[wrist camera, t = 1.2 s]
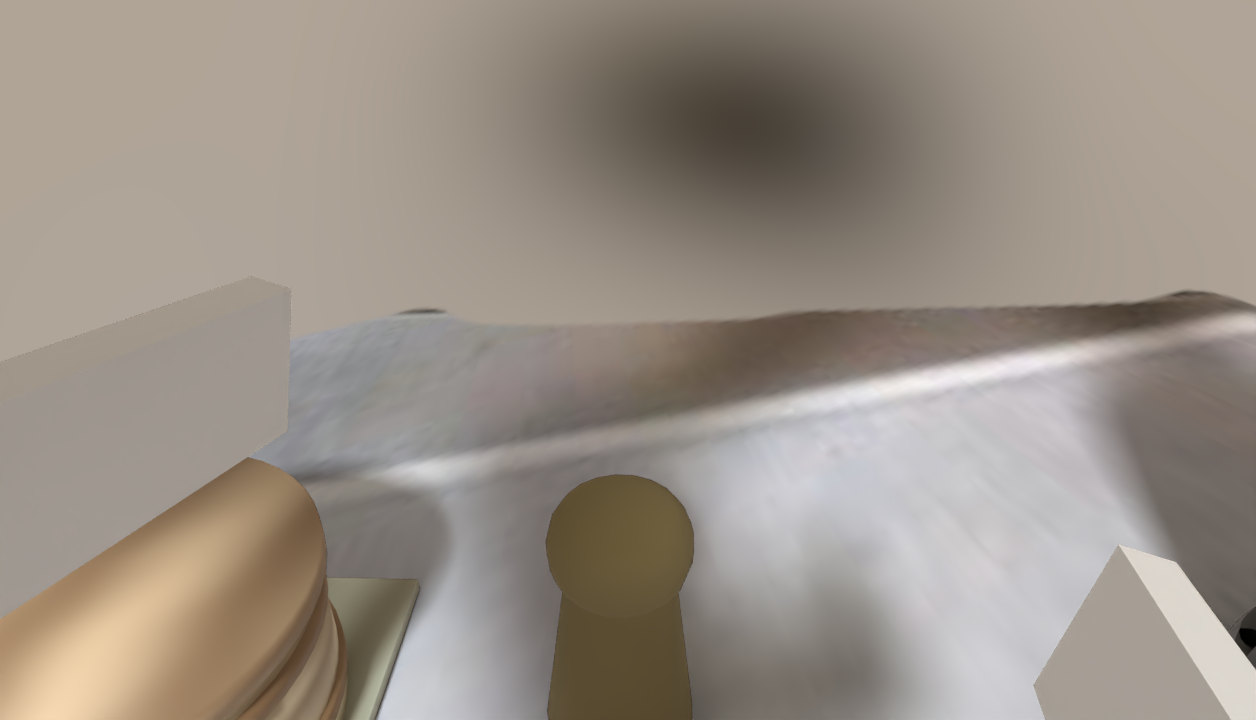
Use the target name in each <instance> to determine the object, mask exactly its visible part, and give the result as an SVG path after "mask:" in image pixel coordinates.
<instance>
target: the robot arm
mask: <svg viewBox="0 0 1256 720" xmlns="http://www.w3.org/2000/svg"><path fill="white" fill-rule="evenodd" d="M290 322H291V289H290V288H287V287H284V286H281V285H278V284H274V283H271V282H268V281H265V280H261V279H258V278H255V277H252V276H251V277H248V278H245V279H242V280H239V281H236V282H233V283H230V284H227V285H224V286H221V287H218V288H216V289H213V290H210V291H207V292H204V293H201V294H198V295H195V296H192V297H189V298H187V299H183V300H181V301H177V302H174V303H172V304H169V305H166V306H163V307H160V308H157V309H154V310H151V311H148V312H146V313H142V314H139V315H136V316H134V317H131V318H128V319H125V320H122V321H119V322H116V323H113V324H110V325H107V326H104V327H101V328H99V329H96V330H93V331H90V332H87V333H84V334H81V335H78V336H75V337H72V338H69V339H66V340H63V341H61V342H57V343H55V344H52V345H49V346H46V347H43V348H40V349H37V350H34V351H32V352H28V353H25V354H23V355H19V356H17V357H14V358H11V359H8V360H5V361H2V362H0V619H1V618H3V617H4V616H6V615H7V614H9V613H10V612H12V611H14V610H15V609H17V608H18V607H20V606H21V605H23V604H24V603H26V602H27V601H29V600H30V599H32V598H33V597H35V596H36V595H38V594H39V593H41V592H43V591H44V590H46V589H47V588H49V587H50V586H52V585H53V584H55V583H56V582H58V581H59V580H61V579H62V578H64V577H65V576H67V575H68V574H70V573H72V572H73V571H75V570H76V569H78V568H79V567H81V566H82V565H84V564H85V563H87V562H88V561H90V560H91V559H93V558H94V557H96V556H97V555H99V554H101V553H102V552H104V551H105V550H107V549H108V548H110V547H111V546H113V545H114V544H116V543H117V542H119V541H120V540H122V539H123V538H125V537H126V536H128V535H130V534H131V533H133V532H134V531H136V530H137V529H139V528H140V527H142V526H143V525H145V524H146V523H148V522H149V521H151V520H152V519H154V518H155V517H157V516H159V515H160V514H162V513H163V512H165V511H166V510H168V509H169V508H171V507H172V506H174V505H175V504H177V503H178V502H180V501H181V500H183V499H185V498H186V497H188V496H189V495H191V494H192V493H194V492H195V491H197V490H198V489H200V488H201V487H203V486H204V485H206V484H207V483H209V482H210V481H212V480H214V479H215V478H217V477H218V476H220V475H221V474H223V473H224V472H226V471H227V470H229V469H230V468H232V467H233V466H235V465H236V464H238V463H239V462H241V461H243V460H244V459H246V458H247V457H249V456H250V455H252V454H253V453H255V452H256V451H258V450H259V449H261V448H262V447H264V446H265V445H267V444H268V443H270V442H272V441H273V440H275V439H276V438H278V437H279V436H281V435H282V434H284V433H285V432H287V431H288V395H289V360H290V324H291V323H290ZM1033 686H1034V688H1035V691H1036V694H1037V697H1038V700H1039V703H1040V705H1041V708H1042V711H1043V714H1044V717H1045V720H1256V607H1255V608H1253V609H1252V610H1250V611H1249V612H1247V613H1246V614H1245V615H1244V616H1242V617H1241V618H1240V619H1239V620H1238V621H1237V622H1236V623H1235V624H1234V625H1233V626H1232V628H1231V629H1230V630H1229V632H1227V630H1226V629H1225V628H1224V626H1223V625H1222V624H1221V622H1220V621H1219V619H1218V618H1217V617H1216V615H1215V614H1214V613H1213V611H1212V610H1211V609H1210V607H1209V606H1208V605H1207V603H1206V602H1205V601H1204V599H1203V598H1202V596H1201V595H1200V594H1199V592H1198V591H1197V590H1196V588H1195V587H1194V586H1193V584H1192V583H1191V582H1190V580H1189V579H1188V577H1187V576H1186V575H1185V573H1184V572H1183V571H1182V569H1181V568H1180V567H1179V565H1178V564H1177V563H1176V562H1174V561H1171V560H1167V559H1164V558H1161V557H1158V556H1154V555H1151V554H1148V553H1145V552H1141V551H1138V550H1135V549H1132V548H1128V547H1125V546H1122V545H1118V546H1117V548H1116V549H1115V551H1114V553H1113V554H1112V556H1111V558H1110V559H1109V561H1108V563H1107V564H1106V566H1105V568H1104V569H1103V571H1102V573H1101V574H1100V576H1099V578H1098V579H1097V581H1096V583H1095V584H1094V586H1093V588H1092V589H1091V591H1090V593H1089V594H1088V596H1087V597H1086V599H1085V601H1084V602H1083V604H1082V606H1081V607H1080V609H1079V611H1078V612H1077V614H1076V616H1075V617H1074V619H1073V621H1072V622H1071V624H1070V626H1069V627H1068V629H1067V631H1066V632H1065V634H1064V636H1063V637H1062V639H1061V641H1060V642H1059V644H1058V645H1057V647H1056V649H1055V650H1054V652H1053V654H1052V655H1051V657H1050V659H1049V660H1048V662H1047V664H1046V665H1045V667H1044V669H1043V670H1042V672H1041V674H1040V675H1039V677H1038V679H1037V680H1036V682H1035V684H1034V685H1033Z"/></svg>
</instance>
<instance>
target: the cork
mask: <svg viewBox="0 0 1256 720" xmlns="http://www.w3.org/2000/svg"><path fill="white" fill-rule="evenodd" d="M546 551H547V557H548V562H549V567H550V571H551V574H552V576H553V578H554V580H555V582H556V584H557V585H558V587H559V588H560V589H561V591H562V599H561V607H560V615H559V623H558V631H557V638H556V646H555V654H554V662H553V670H552V678H551V686H550V693H549V701H548V709H547V712H548V718H549V720H692V698H691V690H690V682H689V674H688V666H687V658H686V650H685V642H684V634H683V626H682V618H681V610H680V602H679V594H678V592H679V591H680V590H681V588H682V585H683V583H684V581H685V579H686V576H687V574H688V572H689V569H690V567H691V565H692V563H693V554H694V533H693V529H692V525H691V521H690V519H689V517H688V515H687V513H686V510H685V508H684V507H683V505H682V504H681V503H680V502H679V500H678V499H677V498H676V497H675V496H674V495H673V494H672V493H671V492H670V491H669V490H668V489H667V488H665V487H663V486H662V485H660V484H658V483H656V482H654V481H652V480H649V479H645V478H642V477H638V476H634V475H610V476H603V477H597V478H595V479H592V480H590V481H587V482H585V483H582V484H580V485H579V486H577V487H576V488H575V489H573V490H572V491H571V492H569V493H568V494H567V495H566V496H565V498H564V499H563V500H562V501H561V503H560V504H559V506H558V507H557V509H556V510H555V511H554V513H553V514H552V517H551V521H550V525H549V530H548V534H547V538H546Z"/></svg>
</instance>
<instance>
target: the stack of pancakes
mask: <svg viewBox="0 0 1256 720" xmlns="http://www.w3.org/2000/svg"><path fill="white" fill-rule="evenodd" d="M326 562H327V548H326V542H325V535H324V531H323V528H322V524H321V521H320V517H319V514H318V512H317V509H316V506H315V504H314V501H313V500H312V498H311V497H310V495H309V494H308V492H307V491H306V489H305V488H304V487H303V486H302V485H301V484H300V483H299V482H298V481H296V480H295V479H294V478H293V477H292V476H290V475H289V474H287V473H286V472H284V471H282V470H281V469H279V468H277V467H275V466H272V465H270V464H268V463H265V462H263V461H260V460H256V459H253V458H249V457H247V458H246V459H244V460H243V461H241V462H239V463H238V464H236V465H235V466H233V467H232V468H230V469H229V470H227V471H226V472H224V473H223V474H221V475H220V476H218V477H217V478H215V479H214V480H212V481H210V482H209V483H207V484H206V485H204V486H203V487H201V488H200V489H198V490H197V491H195V492H194V493H192V494H191V495H189V496H188V497H186V498H185V499H183V500H181V501H180V502H178V503H177V504H175V505H174V506H172V507H171V508H169V509H168V510H166V511H165V512H163V513H162V514H160V515H159V516H157V517H155V518H154V519H152V520H151V521H149V522H148V523H146V524H145V525H143V526H142V527H140V528H139V529H137V530H136V531H134V532H133V533H131V534H130V535H128V536H126V537H125V538H123V539H122V540H120V541H119V542H117V543H116V544H114V545H113V546H111V547H110V548H108V549H107V550H105V551H104V552H102V553H101V554H99V555H97V556H96V557H94V558H93V559H91V560H90V561H88V562H87V563H85V564H84V565H82V566H81V567H79V568H78V569H76V570H75V571H73V572H72V573H70V574H68V575H67V576H65V577H64V578H62V579H61V580H59V581H58V582H56V583H55V584H53V585H52V586H50V587H49V588H47V589H46V590H44V591H43V592H41V593H39V594H38V595H36V596H35V597H33V598H32V599H30V600H29V601H27V602H26V603H24V604H23V605H21V606H20V607H18V608H17V609H15V610H14V611H12V612H10V613H9V614H7V615H6V616H4V617H3V618H1V619H0V720H375V717H376V714H377V711H378V708H379V706H380V703H381V700H382V697H383V694H384V691H385V688H386V685H387V682H388V679H389V676H390V674H391V671H392V668H393V665H394V662H395V659H396V656H397V653H398V650H399V647H400V644H401V642H402V639H403V636H404V633H405V630H406V627H407V624H408V621H409V618H410V615H411V612H412V610H413V607H414V604H415V601H416V598H417V595H418V592H419V589H420V586H419V581H418V579H378V578H330V577H327V575H326Z"/></svg>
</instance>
